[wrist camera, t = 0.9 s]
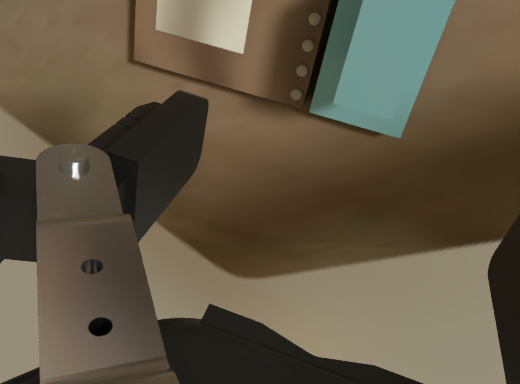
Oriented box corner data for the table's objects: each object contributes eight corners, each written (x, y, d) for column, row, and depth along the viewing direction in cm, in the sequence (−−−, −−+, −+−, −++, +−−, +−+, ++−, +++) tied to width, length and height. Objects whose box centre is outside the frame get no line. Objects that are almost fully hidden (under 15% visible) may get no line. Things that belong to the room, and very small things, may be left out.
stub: (489, -98, 24) (515, -93, 18) (400, 128, 32) (397, 186, 25) (374, -124, 25) (360, -128, 19) (313, 103, 32) (289, 153, 26)
